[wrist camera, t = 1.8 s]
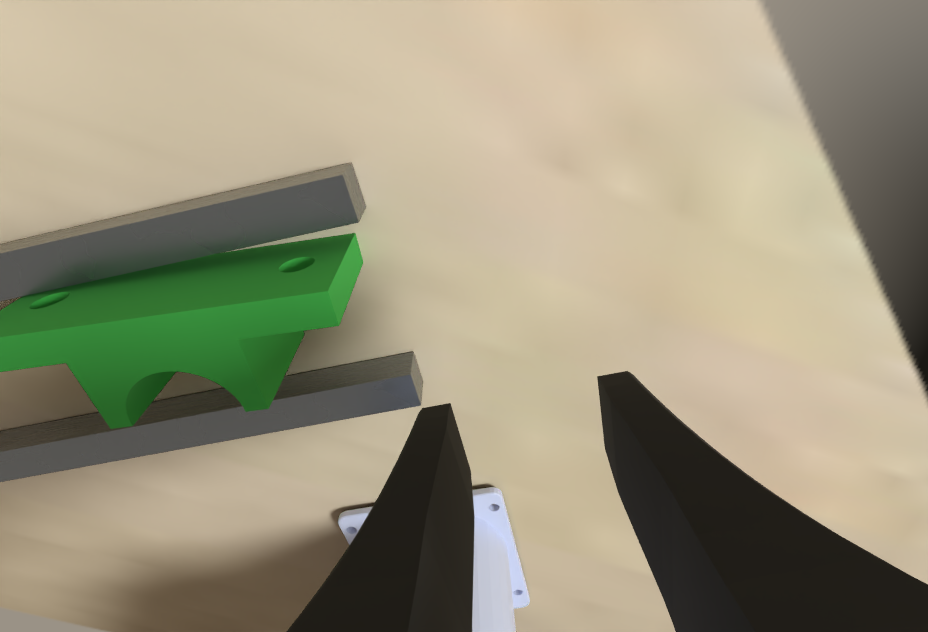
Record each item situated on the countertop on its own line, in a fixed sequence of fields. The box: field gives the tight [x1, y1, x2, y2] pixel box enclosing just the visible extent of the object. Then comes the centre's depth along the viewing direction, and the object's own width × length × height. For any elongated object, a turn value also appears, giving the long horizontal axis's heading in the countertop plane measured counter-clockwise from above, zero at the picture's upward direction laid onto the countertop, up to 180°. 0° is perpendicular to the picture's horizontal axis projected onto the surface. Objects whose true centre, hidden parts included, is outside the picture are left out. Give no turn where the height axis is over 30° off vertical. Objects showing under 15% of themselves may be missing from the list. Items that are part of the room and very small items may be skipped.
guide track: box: [0, 163, 423, 482], centre depth 19 cm, size 9×22×2 cm, turn 102°
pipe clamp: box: [0, 233, 363, 429], centre depth 17 cm, size 11×4×5 cm, turn 98°
